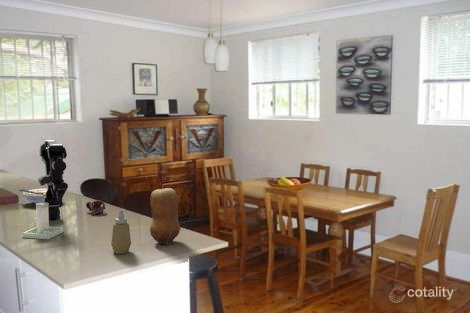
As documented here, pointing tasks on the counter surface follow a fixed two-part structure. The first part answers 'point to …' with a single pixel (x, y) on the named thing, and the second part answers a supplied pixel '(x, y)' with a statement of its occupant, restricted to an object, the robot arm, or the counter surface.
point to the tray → (33, 234)
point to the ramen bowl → (35, 195)
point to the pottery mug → (95, 206)
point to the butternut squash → (164, 215)
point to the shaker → (42, 217)
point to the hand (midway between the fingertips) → (57, 200)
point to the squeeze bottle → (121, 235)
